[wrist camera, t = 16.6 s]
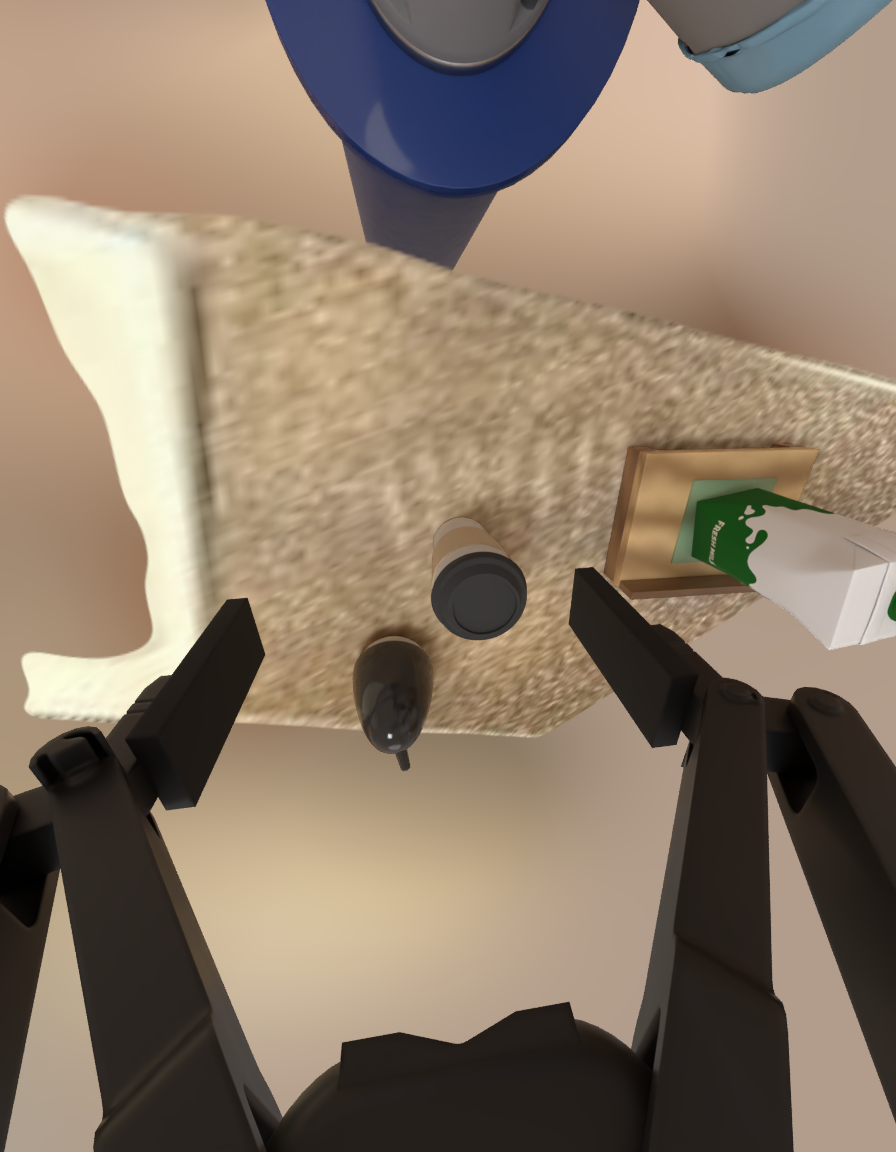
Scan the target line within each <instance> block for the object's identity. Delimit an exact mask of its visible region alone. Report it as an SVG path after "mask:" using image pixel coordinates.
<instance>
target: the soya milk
mask: <svg viewBox="0 0 896 1152" xmlns="http://www.w3.org/2000/svg"><path fill="white" fill-rule="evenodd" d="M691 556H692V557H694V558H696V559H698V560H700V561H702V562H704V563H706V564H708V565H710V566H712V567H714V568H716V569H718V570H720V571H722V572H724V573H726V574H728V575H730V576H731V577H733V578H734V579H736V580H738V581H739V582H741V583H743V584H744V585H746V586H747V587H749V588H751V589H752V590H754V591H755V592H757V593H759V594H760V595H762V596H763V597H765V598H767V599H768V600H770V601H772V602H773V603H775V604H776V605H778V606H780V607H781V608H783V609H784V610H786V611H788V612H789V613H791V614H792V615H793V616H794V617H796V619H798V620H799V621H800V622H801V623H802V624H803V625H804V626H805V627H806V628H807V629H808V630H809V631H810V632H811V633H812V634H813V635H814V636H815V637H816V638H817V639H818V640H819V641H820V642H821V643H822V644H823V645H824V646H825V647H826V648H827V649H828V650H832V649H837V648H841V647H845V646H849V645H853V644H859V645H863V644H867V643H871V642H874V641H876V640H880V639H884V638H889V637H893V636H896V532H893V531H888V530H885V529H881V528H878V527H875V526H871V525H868V524H865V523H862V522H859V521H856V520H853V519H850V518H847V517H844V516H841V515H838V514H835V513H832V512H829V511H826V510H823V509H820V508H817V507H814V506H811V505H808V504H805V503H802V502H799V501H796V500H793V499H790V498H787V497H784V496H781V495H778V494H775V493H772V492H769V491H766V490H763V489H760V488H755V489H750V490H746V491H741V492H737V493H733V494H728V495H724V496H719V497H715V498H711V499H706V500H702V501H697V506H696V516H695V525H694V535H693V545H692V555H691Z"/></svg>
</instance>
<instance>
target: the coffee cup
mask: <svg viewBox="0 0 896 1152" xmlns="http://www.w3.org/2000/svg"><path fill="white" fill-rule="evenodd" d="M526 600H527V586H526V580H525V577H524V575H523V573H522V571H521V569H520V568H519V567H518V566H517V564H516V563H514V562H513V561H512V560H511V558H510V557H509V556H508V555H507V553H506V552H505V551H504V550H503V549H502V548H501V547H500V545H499V544H498V543H497V542H496V541H495V540H494V539H493V537H492V536H491V535H490V534H488V533H487V532H486V531H485V529H484V528H483V527H482V526H481V525H480V524H479V523H478V522H476V521H475V520H472V519H470V518H464V517H460V518H454V519H451V520H449V521H447V522H445V523H444V524H443V525H442V526H441V527H440V528H439V529H438V530H437V532H436V534H435V537H434V540H433V555H432V593H431V602H432V607H433V610H434V613H435V615H436V617H437V618H438V619H439V621H440V622H441V623H442V624H443V625H444V626H445V627H446V628H447V629H448V630H449V631H450V632H452V633H453V634H455V635H457V636H459V637H462V638H465V639H469V640H486V639H491V638H494V637H497V636H499V635H501V634H503V633H505V632H506V631H508V630H509V629H510V628H511V627H512V626H514V625H515V623H516V622H517V621H518V620H519V618H520V617H521V615H522V613H523V611H524V608H525V605H526Z"/></svg>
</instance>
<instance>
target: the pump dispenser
mask: <svg viewBox="0 0 896 1152" xmlns="http://www.w3.org/2000/svg"><path fill="white" fill-rule="evenodd" d="M433 684H434V670H433V665H432V662H431V659H430V658H429V656H428V655H427V653H426V652H425V651H424V650H423V649H422V648H421V647H420V646H419V645H418V644H417V643H415V642H414V641H412V640H410V639H408V638H404V637H399V636H390V637H385V638H382V639H379V640H377V641H375V642H373V643H372V644H371V645H369V646H368V647H367V648H366V649H365V651H364V652H363V653H362V654H361V655H360V656H359V658H358V659H357V661H356V663H355V666H354V670H353V692H354V700H355V705H356V709H357V713H358V717H359V720H360V723H361V726H362V728H363V731H364V733H365V735H366V736H367V738H368V739H369V741H370V742H371V744H372V745H373V746H374V747H375V748H376V749H378V750H379V751H381V752H383V753H387V754H396V757H397V759H398V762H399V765H400V768H401V770H402V771H407V770H408V769H409V768H410V763H409V757H408V752H407V749H408V748H409V747H410V746H411V745H412V744H413V743H414V742H415V741H416V739H417V738H418V736H419V735H420V733H421V731H422V729H423V727H424V724H425V722H426V719H427V715H428V712H429V708H430V704H431V699H432V693H433Z"/></svg>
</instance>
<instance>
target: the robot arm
mask: <svg viewBox="0 0 896 1152" xmlns="http://www.w3.org/2000/svg"><path fill="white" fill-rule="evenodd" d="M647 1H648V2H649V3H650V4H651V5H652V6H653V7H654V9H655V10H656V11H657V12H658V13H659V15H660V16H661V17H662V18H663V19H664V20H665V22H666V23H667V24H668V25H669V26H670V28H671V29H672V30H673V31H674V32H675V33H676V35H677V36H678V37H679V38H678V45H679V47H680V49H681V51H682V53H683V54H684V55H685V56H686V57H687V58H689V59H692V60H694V61H696V62H698V63H701V64H702V65H703V66H704V67H705V68H706V69H707V70H708V71H709V72H710V73H711V74H712V75H713V76H714V77H715V78H716V79H717V80H718V81H719V82H720V83H721V84H722V85H723V86H724V87H725V88H726V89H727V90H730V91H732V92H742V93H758V92H761V91H764V90H767V89H770V88H772V87H774V86H777V85H779V84H781V83H783V82H785V81H787V80H789V79H791V78H792V77H794V76H796V75H797V74H799V73H801V72H802V71H804V70H805V69H807V68H808V67H810V66H811V65H813V64H814V63H815V62H817V61H818V60H820V59H821V58H823V57H824V56H825V55H827V54H828V53H830V52H831V51H832V50H833V49H835V48H836V47H837V46H839V45H840V44H841V43H842V42H844V41H845V40H846V39H848V38H849V37H850V36H851V35H853V34H854V33H855V32H856V31H857V30H859V29H860V28H861V27H862V26H863V25H865V24H866V23H867V22H868V21H869V20H870V19H872V18H873V17H874V16H875V15H876V14H877V13H879V12H880V11H881V10H882V9H883V8H884V7H885V6H886V5H888V4H889V3H890V2H891V1H892V0H647ZM367 2H368V4H369V6H370V8H371V10H372V12H373V14H374V15H375V17H376V18H377V20H378V22H379V23H380V25H381V26H382V27H383V29H384V30H385V31H386V33H387V34H388V36H389V37H390V38H391V39H392V40H393V41H394V42H395V43H396V45H397V46H398V47H399V48H400V49H401V50H403V51H404V52H405V53H406V54H407V55H408V56H409V57H411V58H412V59H413V60H415V61H416V62H418V63H419V64H421V65H423V66H424V67H426V68H428V69H431V70H433V71H435V72H439V73H442V74H445V75H452V76H469V75H476V74H479V73H482V72H486V71H488V70H490V69H492V68H494V67H496V66H498V65H499V64H501V63H503V62H504V61H505V60H507V59H508V58H509V57H510V56H512V55H513V54H514V53H515V52H516V51H517V50H518V49H519V48H520V47H521V46H522V44H523V43H524V42H525V41H526V40H527V38H528V37H529V36H530V34H531V33H532V31H533V30H534V28H535V27H536V25H537V23H538V22H539V20H540V18H541V16H542V15H543V12H544V10H545V8H546V6H547V4H548V2H549V0H367ZM569 625H570V627H571V628H572V630H573V631H574V633H575V634H576V636H577V637H578V639H579V640H580V642H581V643H582V645H583V646H584V648H585V649H586V651H587V652H588V653H589V655H590V656H591V658H592V659H593V661H594V662H595V664H596V665H597V667H598V668H599V670H600V671H601V673H602V674H603V676H604V677H605V679H606V680H607V682H608V683H609V685H610V686H611V688H612V689H613V691H614V692H615V694H616V695H617V696H618V698H619V699H620V701H621V702H622V704H623V705H624V707H625V708H626V710H627V711H628V713H629V714H630V716H631V717H632V719H633V720H634V722H635V723H636V725H637V726H638V728H639V729H640V731H641V732H642V734H643V735H644V736H645V738H646V739H647V741H648V742H649V744H650V745H651V747H652V748H655V747H663V746H670V745H676V744H677V741H678V738H679V735H680V732H681V731H682V732H683V733H684V734H685V736H686V737H687V738H688V739H689V744H688V747H687V750H686V753H685V756H684V759H683V762H682V765H681V767H684V768H683V774H682V780H681V786H680V791H679V797H678V803H677V808H676V814H675V820H674V825H673V831H672V838H671V843H670V848H669V854H668V860H667V866H666V871H665V877H664V883H663V889H662V894H661V900H660V906H659V911H658V917H657V923H656V929H655V934H654V940H653V946H652V951H651V957H650V963H649V968H648V974H647V980H646V986H645V992H644V996H643V1000H642V1004H641V1008H640V1012H639V1016H638V1019H637V1024H636V1028H635V1032H634V1037H633V1042H632V1047H631V1049H630V1048H629V1047H628V1046H627V1045H626V1044H624V1043H623V1042H622V1041H620V1040H619V1039H617V1038H616V1037H615V1036H613V1035H612V1034H610V1033H608V1032H606V1031H604V1030H603V1029H601V1028H599V1027H597V1026H595V1025H592V1024H589V1023H587V1022H584V1021H582V1020H577V1019H574V1017H573V1013H572V1009H571V1006H570V1003H569V1002H566V1003H560V1004H555V1005H549V1006H543V1007H538V1008H532V1009H527V1010H522V1011H516V1012H514V1013H512V1014H511V1015H509V1016H508V1017H506V1018H504V1019H502V1020H501V1021H499V1022H498V1023H496V1024H494V1025H493V1026H491V1027H489V1028H488V1029H486V1030H484V1031H483V1032H481V1033H480V1034H478V1035H477V1036H475V1037H473V1038H471V1039H470V1040H468V1041H466V1042H464V1043H461V1044H453V1043H449V1042H443V1041H439V1040H434V1039H430V1038H425V1037H419V1036H415V1035H410V1034H405V1033H401V1032H398V1033H393V1034H387V1035H382V1036H376V1037H371V1038H365V1039H360V1040H354V1041H349V1042H343V1043H342V1050H341V1061H340V1062H339V1063H337V1064H336V1065H334V1066H332V1067H331V1068H330V1069H328V1070H327V1071H326V1072H324V1073H323V1074H322V1075H321V1076H319V1077H318V1078H317V1079H316V1080H315V1081H314V1082H313V1083H312V1084H311V1085H310V1086H309V1087H308V1088H307V1089H306V1090H305V1091H304V1092H303V1093H302V1094H301V1095H300V1096H299V1098H298V1099H297V1100H296V1101H295V1103H294V1104H293V1105H292V1106H291V1107H290V1108H289V1110H288V1111H287V1113H286V1114H285V1116H284V1117H282V1115H281V1113H280V1110H279V1108H278V1106H277V1104H276V1101H275V1099H274V1097H273V1095H272V1093H271V1091H270V1089H269V1087H268V1085H267V1083H266V1081H265V1080H264V1078H263V1076H262V1074H261V1072H260V1070H259V1068H258V1066H257V1063H256V1061H255V1059H254V1057H253V1054H252V1052H251V1049H250V1047H249V1045H248V1042H247V1040H246V1037H245V1035H244V1033H243V1030H242V1028H241V1025H240V1023H239V1020H238V1018H237V1016H236V1013H235V1011H234V1009H233V1006H232V1004H231V1001H230V999H229V996H228V994H227V992H226V989H225V987H224V984H223V982H222V980H221V977H220V975H219V973H218V970H217V968H216V965H215V963H214V960H213V958H212V956H211V953H210V951H209V949H208V946H207V943H206V941H205V939H204V936H203V934H202V931H201V929H200V927H199V924H198V922H197V919H196V917H195V915H194V912H193V910H192V907H191V905H190V903H189V901H188V898H187V896H186V893H185V891H184V888H183V886H182V883H181V881H180V879H179V876H178V874H177V871H176V869H175V867H174V864H173V862H172V859H171V857H170V855H169V852H168V850H167V847H166V845H165V842H164V840H163V838H162V835H161V833H160V830H159V828H158V826H157V823H156V821H155V818H154V817H153V815H152V814H151V812H150V810H151V808H152V807H153V805H154V803H155V801H156V800H157V798H158V797H159V799H160V801H161V802H162V804H163V806H164V808H165V809H166V810H172V809H180V808H188V807H195V806H196V804H197V802H198V800H199V798H200V796H201V793H202V791H203V789H204V787H205V785H206V783H207V780H208V778H209V776H210V774H211V772H212V769H213V767H214V765H215V763H216V761H217V759H218V756H219V754H220V752H221V750H222V748H223V745H224V743H225V741H226V739H227V737H228V734H229V732H230V730H231V728H232V726H233V724H234V722H235V719H236V717H237V715H238V713H239V711H240V708H241V706H242V704H243V702H244V700H245V698H246V695H247V693H248V691H249V689H250V687H251V685H252V682H253V680H254V678H255V676H256V674H257V671H258V669H259V667H260V665H261V663H262V661H263V658H264V656H265V652H264V649H263V646H262V643H261V639H260V636H259V633H258V630H257V626H256V623H255V620H254V617H253V614H252V610H251V607H250V604H249V601H248V598H240V599H229V600H226V602H225V603H224V604H223V606H222V607H221V609H220V610H219V611H218V613H217V614H216V615H215V617H214V618H213V619H212V621H211V622H210V624H209V625H208V626H207V628H206V629H205V630H204V632H203V633H202V634H201V636H200V637H199V639H198V640H197V641H196V643H195V644H194V645H193V647H192V648H191V649H190V651H189V652H188V654H187V655H186V656H185V658H184V659H183V660H182V662H181V663H180V664H179V666H178V667H177V669H176V670H175V671H174V673H173V674H172V675H168V676H160V677H159V678H158V679H157V680H155V681H154V682H153V683H151V684H150V685H149V686H147V687H146V688H145V689H144V690H143V692H142V693H141V694H140V695H139V697H138V698H137V699H136V701H135V704H132V706H131V707H130V708H129V709H128V711H127V714H126V715H124V716H123V717H122V718H121V720H120V721H119V722H118V723H117V725H116V726H115V727H114V729H113V730H112V731H111V732H110V734H109V735H108V736H107V737H106V739H105V737H104V735H103V734H102V732H101V731H100V730H99V729H98V728H97V727H89V726H87V727H82V728H76V729H74V730H71V731H68V732H66V733H63V734H61V735H59V736H58V737H56V738H54V739H52V740H51V741H49V742H48V743H47V744H45V745H44V746H43V747H42V748H40V749H39V750H38V751H37V752H36V753H35V755H34V756H33V757H32V758H31V760H30V764H29V768H30V770H31V771H32V772H33V774H34V775H35V776H36V777H37V779H38V780H39V781H40V782H41V783H42V785H43V786H41V787H38V788H35V789H32V790H29V791H26V792H24V793H21V794H18V795H15V796H13V795H12V794H11V793H10V792H9V791H8V790H7V789H6V788H5V787H3V786H2V785H0V1152H4V1149H5V1144H6V1139H7V1134H8V1129H9V1124H10V1119H11V1114H12V1109H13V1104H14V1099H15V1094H16V1089H17V1084H18V1079H19V1074H20V1069H21V1064H22V1059H23V1053H24V1048H25V1043H26V1038H27V1033H28V1028H29V1023H30V1018H31V1013H32V1008H33V1003H34V998H35V993H36V988H37V983H38V978H39V973H40V967H41V963H42V957H43V952H44V947H45V942H46V937H47V932H48V927H49V922H50V917H51V912H52V907H53V902H54V897H55V892H56V886H57V881H58V877H59V871H60V869H61V873H62V878H63V884H64V889H65V895H66V901H67V906H68V912H69V918H70V924H71V929H72V934H73V940H74V946H75V952H76V957H77V963H78V969H79V974H80V980H81V986H82V991H83V996H84V1002H85V1008H86V1013H87V1019H88V1025H89V1031H90V1036H91V1041H92V1047H93V1053H94V1059H95V1065H96V1070H97V1076H98V1081H99V1087H100V1092H101V1098H102V1106H103V1118H102V1122H101V1123H100V1125H99V1127H98V1128H97V1130H96V1132H95V1138H94V1146H93V1149H94V1152H794V1150H793V1130H792V1108H791V1087H790V1065H789V1044H788V1029H787V1019H786V1013H785V1010H784V1006H783V1003H782V1002H781V1001H780V1000H779V999H778V998H777V997H776V996H775V993H774V990H773V984H772V983H773V982H772V954H771V913H770V879H769V878H770V877H769V840H768V839H769V835H768V796H767V774H768V777H769V779H770V782H771V785H772V787H773V790H774V793H775V796H776V798H777V801H778V803H779V807H780V809H781V812H782V815H783V817H784V820H785V823H786V826H787V828H788V831H789V833H790V837H791V839H792V842H793V845H794V847H795V850H796V853H797V856H798V858H799V861H800V864H801V867H802V869H803V872H804V875H805V877H806V880H807V883H808V886H809V888H810V891H811V894H812V896H813V899H814V902H815V904H816V907H817V910H818V913H819V915H820V918H821V921H822V923H823V926H824V929H825V932H826V934H827V937H828V940H829V943H830V945H831V948H832V951H833V954H834V956H835V959H836V962H837V964H838V967H839V970H840V973H841V975H842V978H843V981H844V983H845V986H846V989H847V991H848V994H849V997H850V1000H851V1003H852V1005H853V1008H854V1011H855V1013H856V1016H857V1019H858V1021H859V1024H860V1027H861V1030H862V1032H863V1035H864V1038H865V1041H866V1043H867V1046H868V1049H869V1052H870V1054H871V1057H872V1059H873V1062H874V1065H875V1068H876V1070H877V1073H878V1076H879V1079H880V1081H881V1084H882V1087H883V1090H884V1092H885V1095H886V1098H887V1100H888V1103H889V1106H890V1109H891V1111H892V1114H893V1117H894V1120H895V1122H896V767H895V765H894V764H893V762H892V761H891V759H890V758H889V756H888V755H887V754H886V752H885V751H884V749H883V748H882V746H881V745H880V743H879V742H878V740H877V739H876V738H875V736H874V735H873V733H872V732H871V730H870V729H869V727H868V726H867V724H866V723H865V721H864V720H863V719H862V717H861V716H860V714H859V713H858V711H857V710H856V709H855V708H854V707H853V706H852V705H851V704H850V703H849V702H847V701H846V700H844V699H843V698H841V697H840V696H838V695H836V694H834V693H831V692H829V691H826V690H821V689H818V688H812V687H803V688H799V689H797V690H796V691H795V692H794V694H793V696H792V698H791V700H786V699H778V698H769V697H763V696H761V694H760V693H759V692H758V691H757V690H756V689H754V688H752V687H751V686H749V685H748V684H746V683H743V682H741V681H738V680H735V679H730V678H723V677H722V676H720V675H719V674H718V673H717V672H716V671H715V670H714V669H713V668H712V667H711V666H710V665H709V664H708V663H707V662H706V661H705V660H704V659H702V658H701V657H700V656H699V655H698V654H697V653H696V652H694V651H693V649H692V648H691V647H690V646H689V645H688V644H685V641H684V640H683V639H681V638H680V637H679V636H678V635H677V634H676V633H675V632H674V631H672V630H670V629H668V628H666V627H664V626H663V625H661V624H657V625H650V624H649V623H648V622H647V621H646V620H645V619H644V618H643V617H642V616H641V615H640V614H639V613H638V612H637V611H636V610H635V609H634V608H633V607H632V606H631V605H630V604H629V603H628V602H627V601H626V600H625V599H624V598H623V597H622V596H621V595H620V594H619V593H618V592H617V591H616V590H615V589H614V588H613V587H612V586H611V585H610V584H609V583H608V582H607V581H606V580H605V579H604V578H603V577H602V576H601V575H600V574H599V573H598V572H597V571H596V570H595V569H594V568H593V567H589V568H578V569H575V575H574V584H573V592H572V601H571V609H570V618H569Z"/></svg>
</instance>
